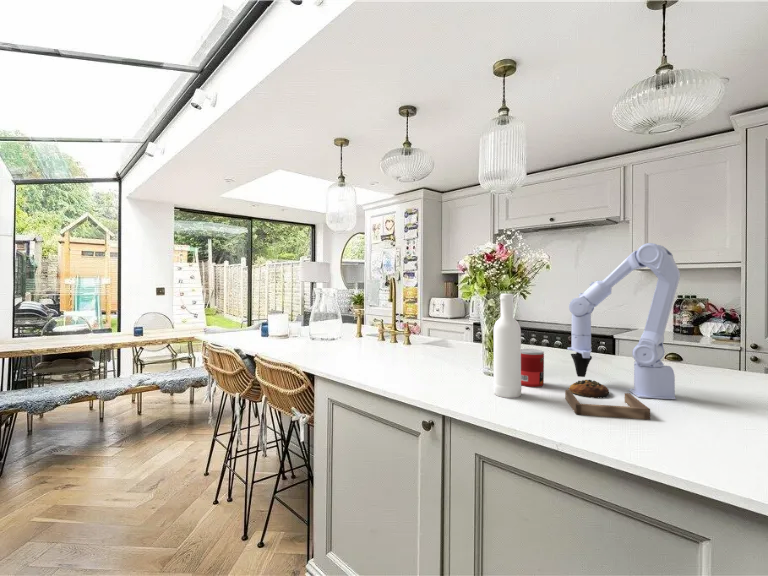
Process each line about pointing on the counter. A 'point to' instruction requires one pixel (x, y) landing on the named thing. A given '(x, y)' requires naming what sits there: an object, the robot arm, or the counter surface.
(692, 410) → the counter surface
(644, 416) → the wooden u-shaped frame
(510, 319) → the bottle
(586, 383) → the mushroom cheese tart
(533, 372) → the canned food
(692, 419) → the counter surface
